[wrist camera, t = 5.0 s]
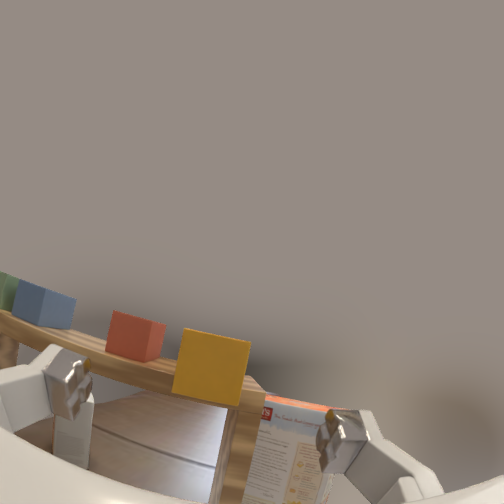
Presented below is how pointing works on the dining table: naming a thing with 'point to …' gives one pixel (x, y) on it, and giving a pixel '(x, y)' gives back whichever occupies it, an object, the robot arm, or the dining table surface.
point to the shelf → (157, 380)
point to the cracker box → (288, 455)
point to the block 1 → (7, 291)
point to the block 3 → (134, 337)
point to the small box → (74, 436)
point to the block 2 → (43, 306)
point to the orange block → (211, 367)
